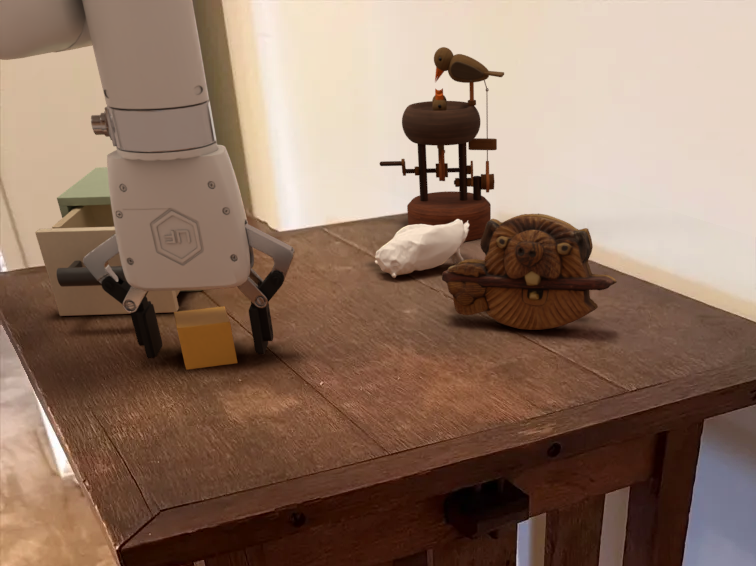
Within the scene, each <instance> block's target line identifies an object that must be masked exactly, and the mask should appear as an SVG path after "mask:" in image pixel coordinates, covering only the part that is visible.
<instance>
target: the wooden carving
mask: <svg viewBox="0 0 756 566" xmlns="http://www.w3.org/2000/svg"><path fill="white" fill-rule="evenodd" d="M479 244H480V249H481V251H482V252H483V253H484V259H478V258H477V259H476V258H467V259H463V261H462V262H458V263H456V264H454V265H450V266H449V267H448V268H447V270H444V271H443V272H442V273H441V274H442V275H441V280H442V281H443V282H445V283H446V286H447V289H448V293H450V295H451V296H452V299H453V305H454V309H455V312H456V313H457V314H459V315H461V316H462V315H463V316H473V315H477V314H480V313H486V314H487V315H488V316H489V317H490V318H492V319H493V320H495V321H496V322H498V323H499V324H502V325H504V326H507V327H511V328H515V329H520V330H530V331H532V330H533V331H534V330H535V331H537V330H539V331H541V330H549V329H555V328H558V327H562V326H563V327H564V326H565V325H568V324H570V323H573V322H576V321H578V320H580V319H581V318H583V317H586V316H587V315H589V314H591V313H593V312H594V311H596V310H597V309H598V308H599V306H598V304H597V302H595V301H594V300H593V299H592V298H591V295H590V291H603V290H607V289H609V288H610V287H611V286H613V285H615V284H617V282H618V281H617V280H616V279H615V278H614V277H613V276H611V275H609V274H597V273H596V274H595V273H593V272H592V270H591V266H590V264H589V260H590V257H591V255H592V251H593V247H594V245H593V241H592V236H591V233H590V229H589V228H588V227H585V228H580V229H578V228H576V227H575V226H573V224H571V223H569V222H567V221H565V220H563V219H560V218H557V217H555V216H551V215H548V214H543V213H523V214H519V215H516V216H513V217H511V218H509V219H506V220H503V221H502V222H501V221H499V220H498V219H496V218H491V220H490V221H488V222H487V224H486V227H485V231H484V233H483V236H482V238H480V243H479Z"/></svg>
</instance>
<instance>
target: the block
mask: <svg viewBox="0 0 756 566" xmlns="http://www.w3.org/2000/svg"><path fill="white" fill-rule="evenodd" d="M173 316H174V321H175V326H176V330H177V335H178V339H179V345H180V349H181V353H182V358H183V363H184V367H185V370H186V371H187V370H196V369H202V368H209V367H217V366H225V365H233V364H238V359H237V358H238V357H237V352H236V347H235V341H234V335H233V330H232V324H231V320H230V318H229V315H228V312H227V308H226V306H215V307H205V308H196V309H188V310H187V309H186V310H177V312H173Z"/></svg>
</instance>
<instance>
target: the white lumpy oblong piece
mask: <svg viewBox="0 0 756 566" xmlns="http://www.w3.org/2000/svg"><path fill="white" fill-rule="evenodd" d="M468 227H469V223H468V221H467V222H466V223H464V225H463V222H462V220H459V219H456V220H455V221H454V222H452V223H449V224H444V225H434V226H432V225H426V224H414V225H408V224H407V225H405V226H403V227H401V228H400V229H399V230H398V231H397V232H395V234H394V236H393V237H392V238H391V239H390V240H389V241H388V242H387V243H385V244H384V245H382V246H380V248H379V249H377V250H376V251H375V257H374V258H375V260H374V264H376V265H377V266H378V267H379V268H380V270H381V271H382V272H384V273H388V274H389V275H390V276H391V277H392V278H393V279H395V278H397V276H402V275H408V274H411V273H413V272H414V271H424V270H430V269H434V268H437V267H439V266H442V265H443V264H445V263H446V262H447V261H448V260H449V259H450V258H451V262H452V263H453V264H459V263H460V262H462V261H463V260H464V257H463V256H462V254H461V246H462V245H463V244H464V243H465V242H466V241H465V239H466V237H467V234H468V231H469V229H468ZM455 262H456V263H455Z"/></svg>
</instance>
